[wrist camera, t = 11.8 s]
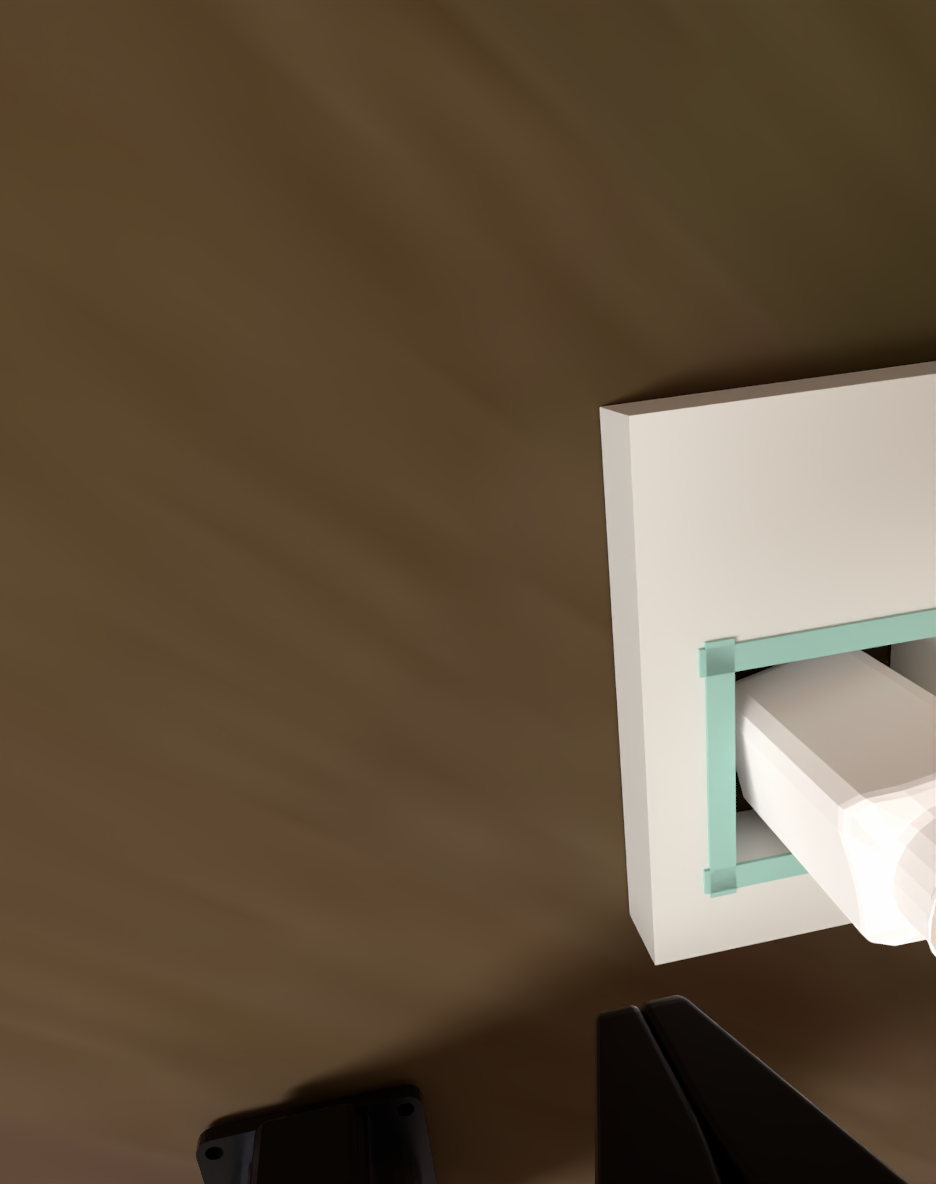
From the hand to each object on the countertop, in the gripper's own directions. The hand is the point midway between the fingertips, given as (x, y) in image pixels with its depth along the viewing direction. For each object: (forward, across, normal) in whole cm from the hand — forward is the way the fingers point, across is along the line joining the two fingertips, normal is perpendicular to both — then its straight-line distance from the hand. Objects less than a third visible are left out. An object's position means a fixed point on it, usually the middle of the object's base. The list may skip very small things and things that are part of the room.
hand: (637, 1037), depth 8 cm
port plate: (+13, -9, +3) cm, 16 cm away
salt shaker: (+13, -9, +5) cm, 17 cm away
